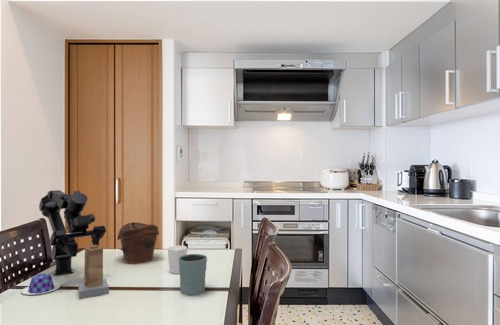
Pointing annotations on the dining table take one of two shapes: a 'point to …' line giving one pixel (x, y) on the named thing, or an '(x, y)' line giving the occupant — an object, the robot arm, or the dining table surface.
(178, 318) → the dining table surface
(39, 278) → the purple patterned hat
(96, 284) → the column
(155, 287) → the dining table surface
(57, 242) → the robot arm
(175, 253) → the white cup
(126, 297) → the dining table surface
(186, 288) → the green cup
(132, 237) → the brown basket
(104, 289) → the base brick
